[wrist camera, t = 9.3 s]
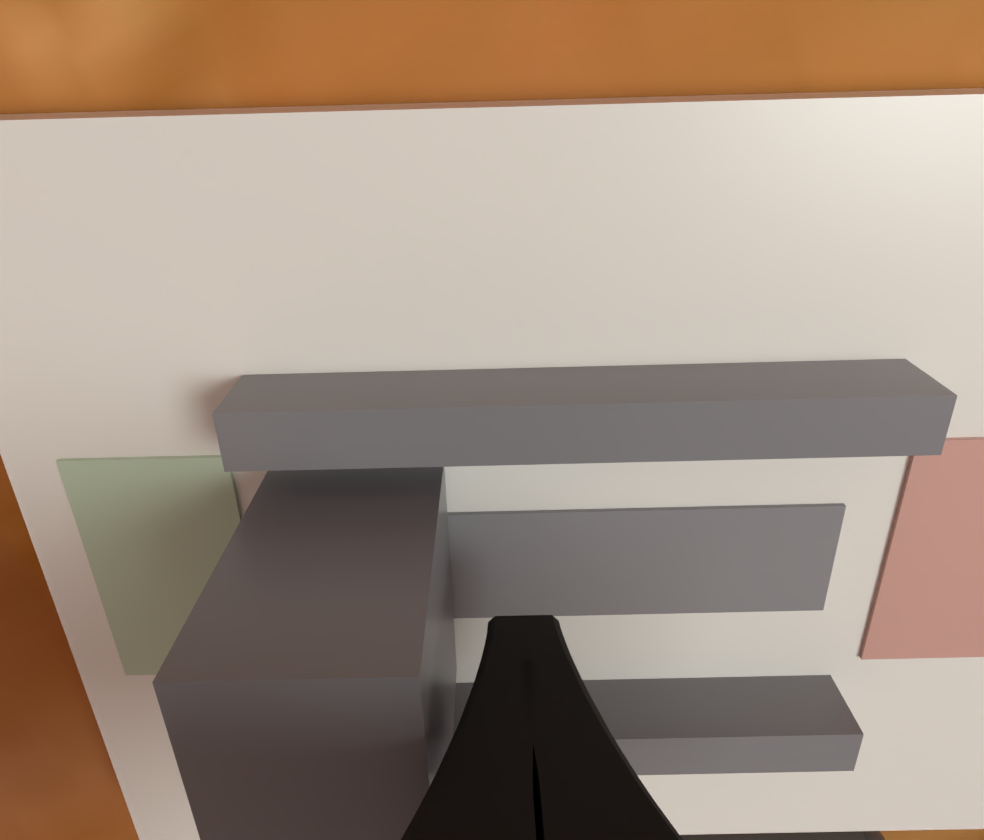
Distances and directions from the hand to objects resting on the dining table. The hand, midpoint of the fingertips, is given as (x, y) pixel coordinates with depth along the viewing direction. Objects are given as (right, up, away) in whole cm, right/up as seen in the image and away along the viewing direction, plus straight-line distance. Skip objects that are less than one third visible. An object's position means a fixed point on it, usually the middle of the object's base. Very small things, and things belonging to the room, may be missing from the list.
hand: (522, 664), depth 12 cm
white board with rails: (+1, 0, +5) cm, 5 cm away
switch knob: (-3, +1, +2) cm, 4 cm away
